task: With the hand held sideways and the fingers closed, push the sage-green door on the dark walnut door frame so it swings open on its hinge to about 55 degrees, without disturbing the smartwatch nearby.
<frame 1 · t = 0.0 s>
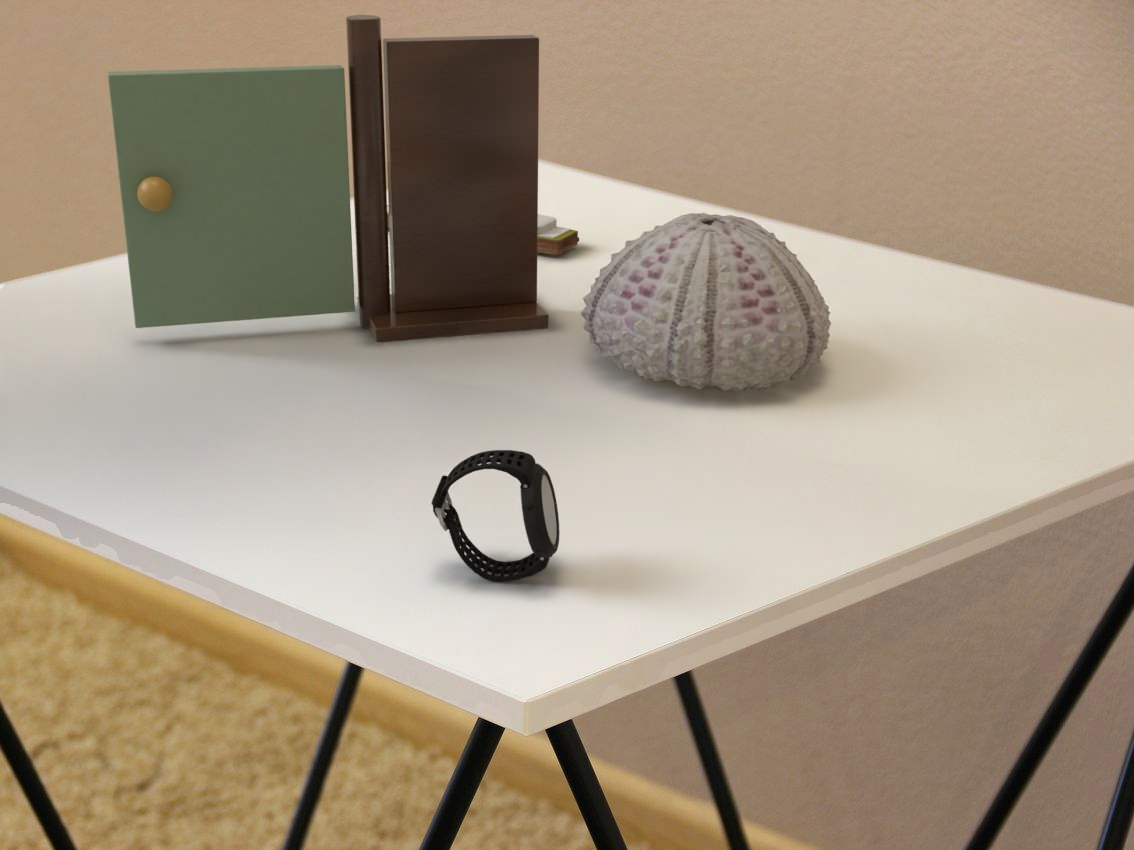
door: (239, 201, 81), point 8 cm above the table, hinge at 0.0°
harmonica: (474, 240, 105), on the table
sea urchin shell: (705, 367, 83), on the table
smartwatch: (502, 573, 61), on the table
door frame: (375, 324, 88), on the table
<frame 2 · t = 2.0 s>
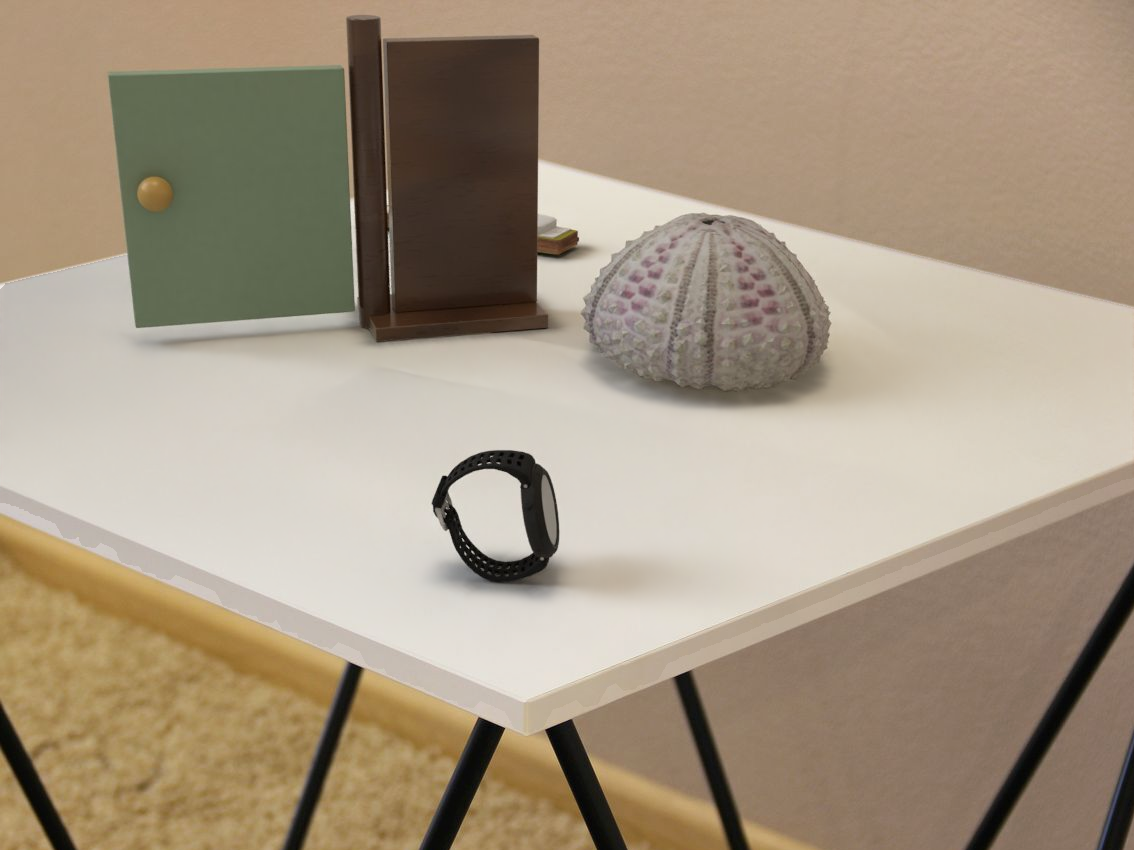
nothing on the table moved.
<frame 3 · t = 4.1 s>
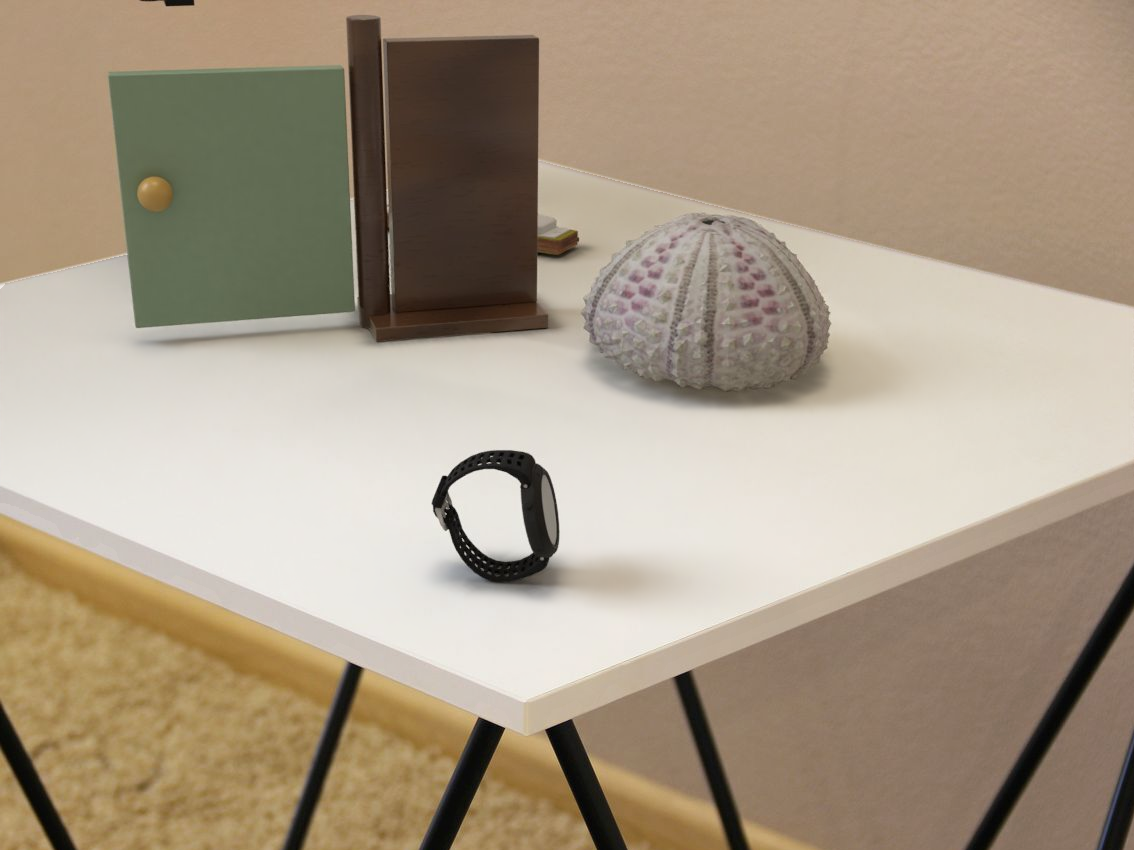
nothing on the table moved.
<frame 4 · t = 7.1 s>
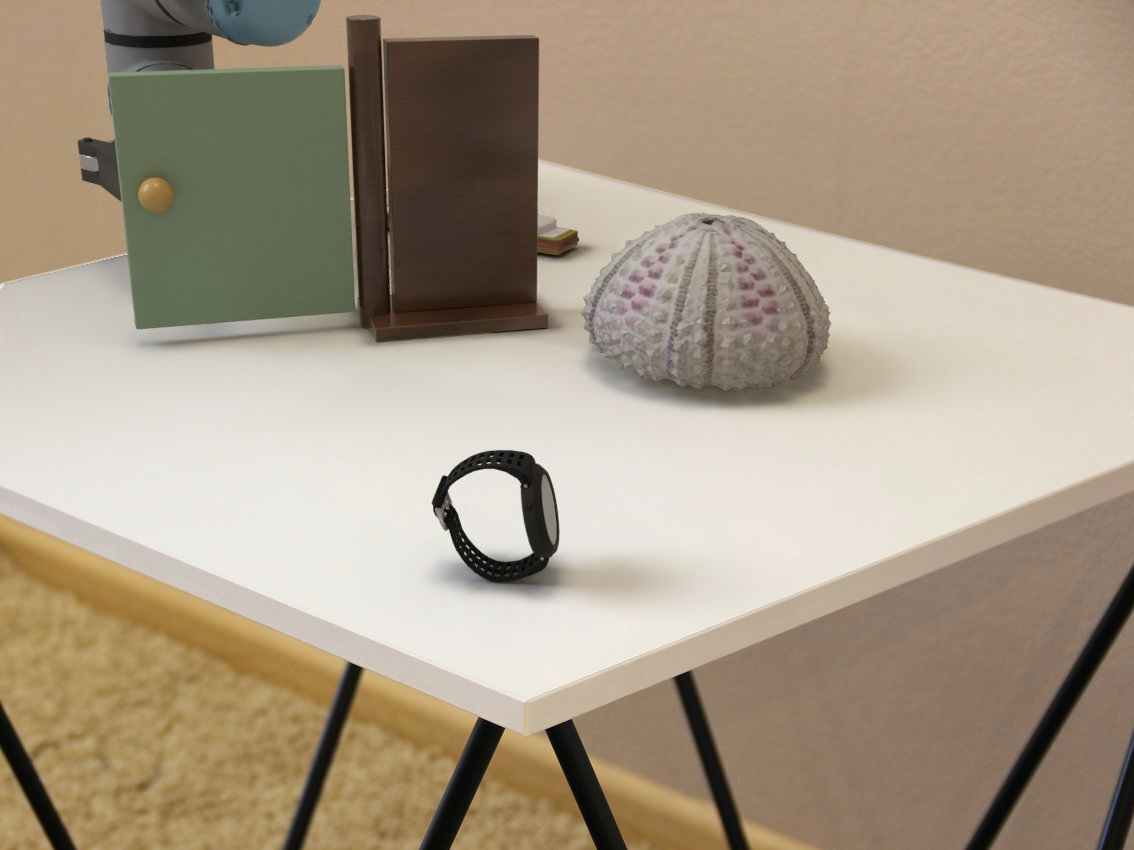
hand: (207, 220, 83), 6 cm above the table, tool horizontal, fingers closed
door: (239, 202, 81), point 8 cm above the table, hinge at 1.2°, touching gripper
everything else where it was.
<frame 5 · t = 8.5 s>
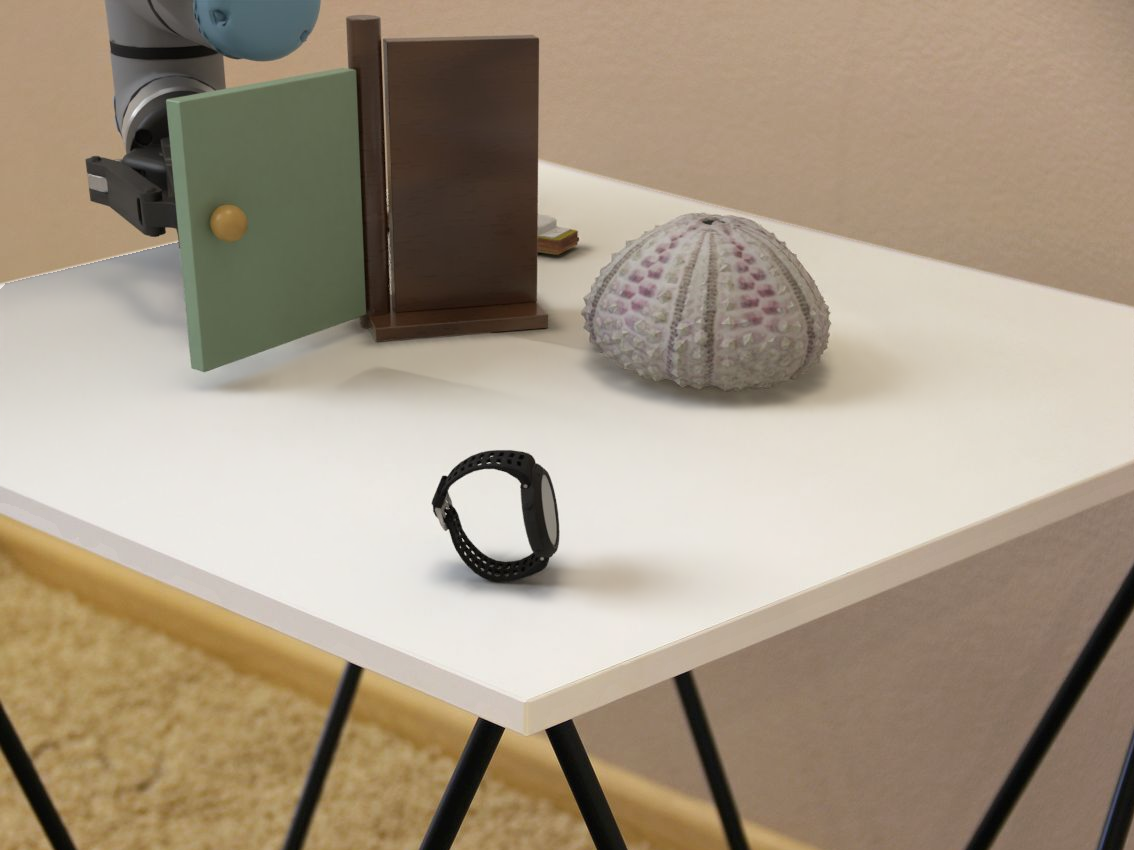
hand: (227, 246, 78), 6 cm above the table, tool horizontal, fingers closed
door: (286, 219, 78), point 8 cm above the table, hinge at 37.1°, touching gripper
everything else where it was.
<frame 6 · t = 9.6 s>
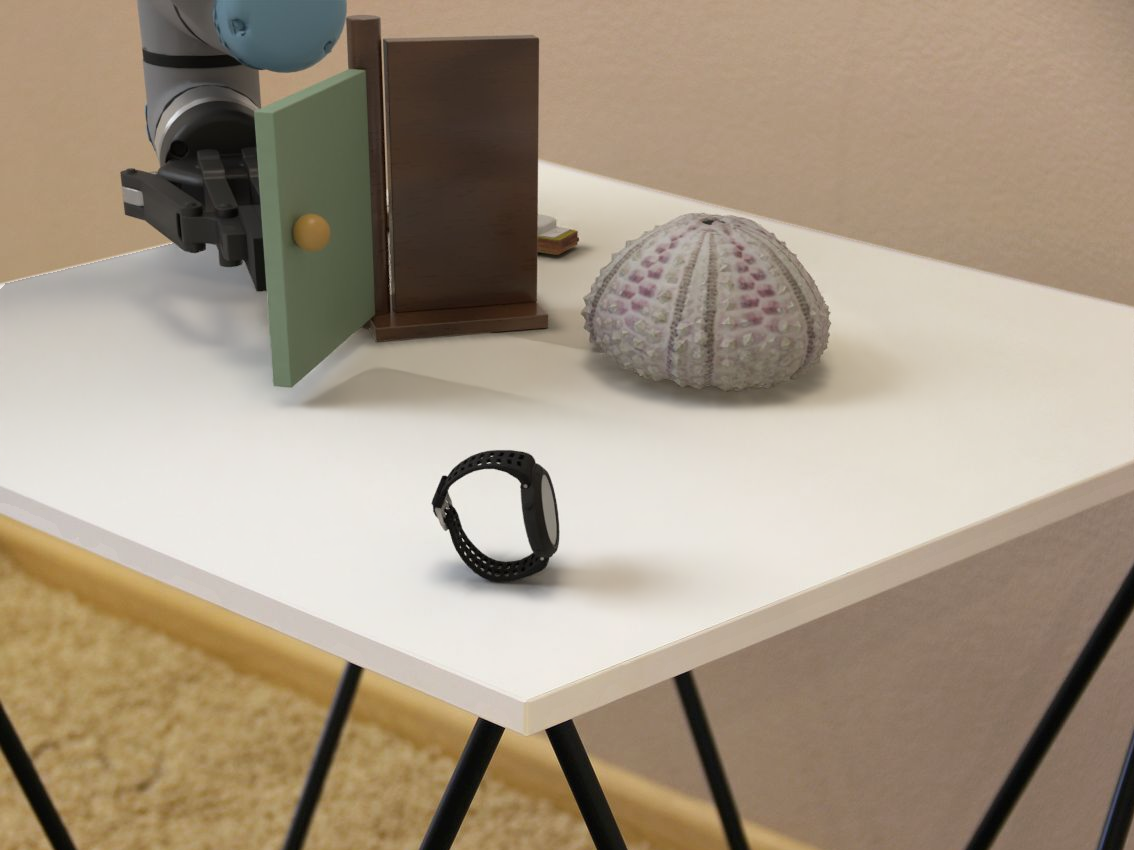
hand: (270, 264, 75), 7 cm above the table, tool horizontal, fingers closed
door: (336, 224, 78), point 8 cm above the table, hinge at 59.4°, touching gripper
everything else where it was.
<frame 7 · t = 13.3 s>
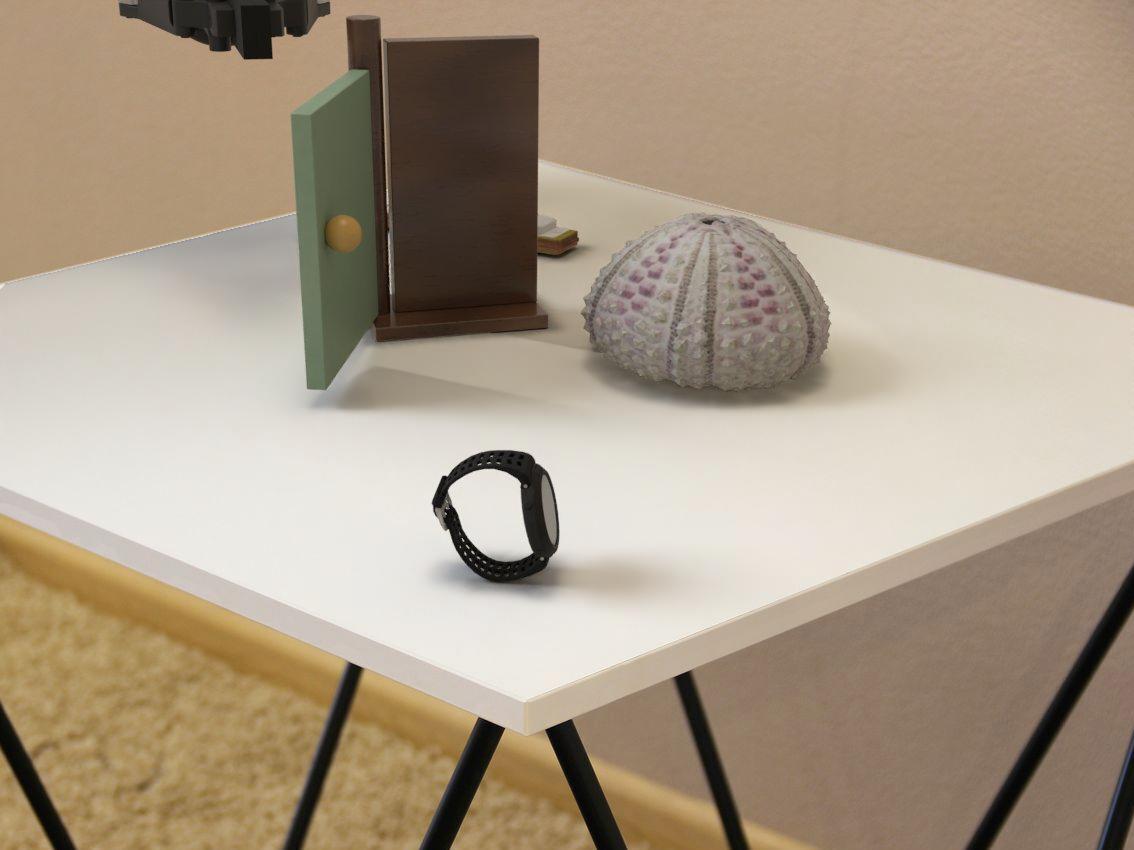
hand: (256, 32, 79), 16 cm above the table, tool horizontal, fingers closed
door: (355, 225, 78), point 8 cm above the table, hinge at 67.0°
everything else where it was.
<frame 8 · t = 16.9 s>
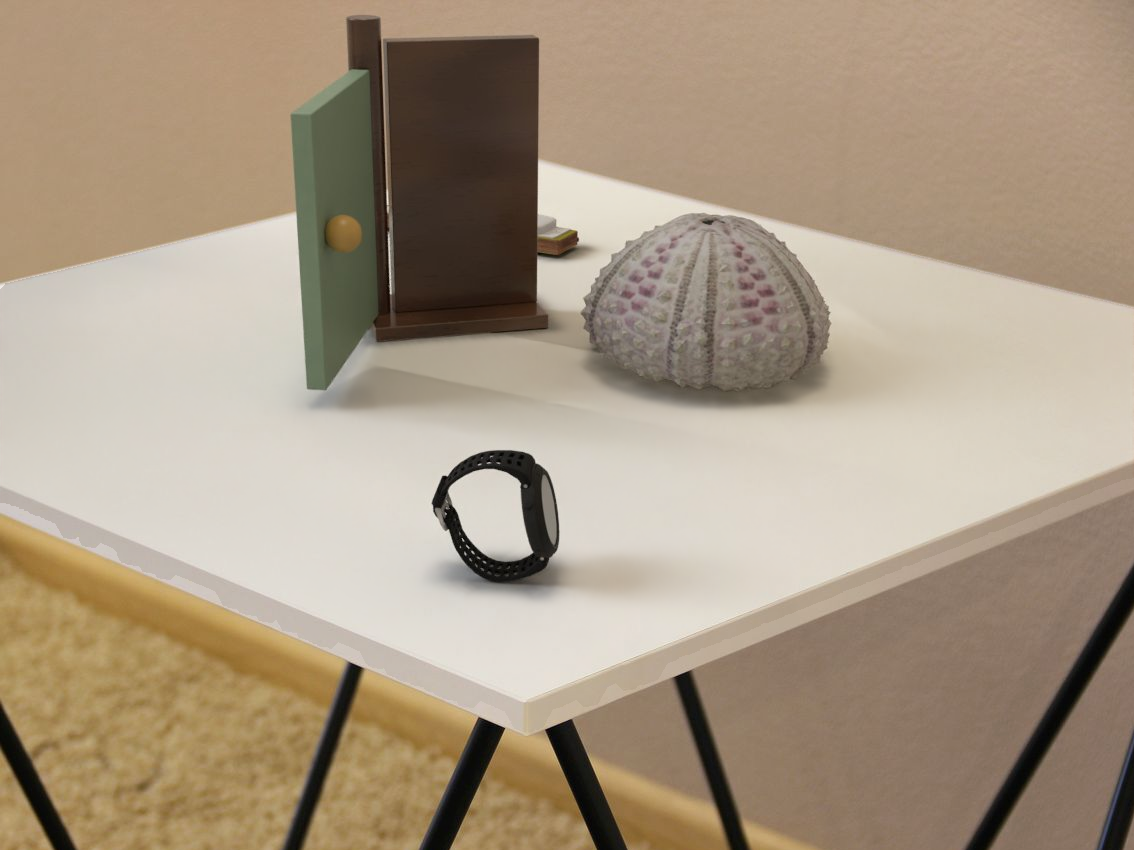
nothing on the table moved.
at the end: door at +67° (first picture: +0°); smartwatch moved 0.2 cm from its start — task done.
